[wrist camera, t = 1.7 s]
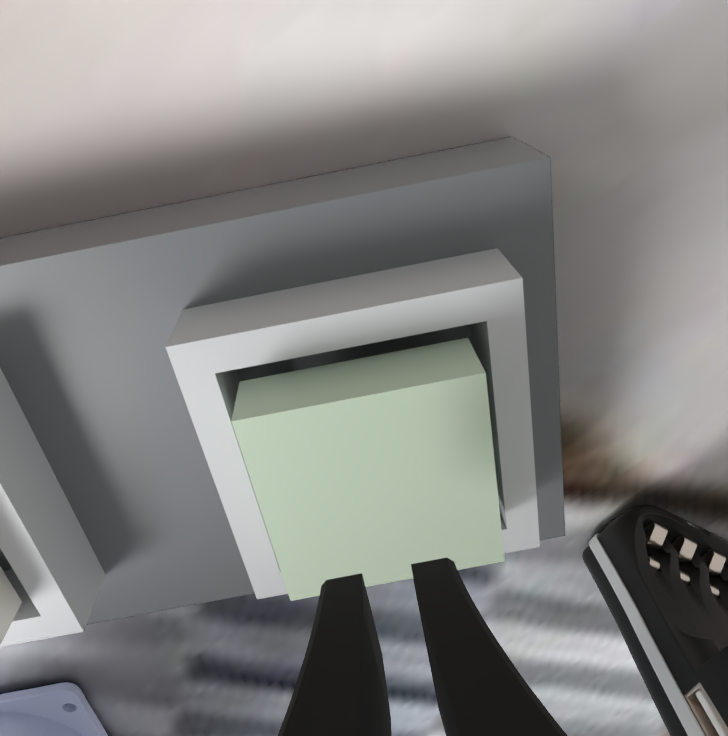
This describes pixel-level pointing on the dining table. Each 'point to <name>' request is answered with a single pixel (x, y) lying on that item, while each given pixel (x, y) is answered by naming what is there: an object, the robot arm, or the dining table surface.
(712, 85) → the dining table surface
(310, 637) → the robot arm
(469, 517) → the sage key
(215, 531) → the key panel
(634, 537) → the battery charger
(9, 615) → the pale key
